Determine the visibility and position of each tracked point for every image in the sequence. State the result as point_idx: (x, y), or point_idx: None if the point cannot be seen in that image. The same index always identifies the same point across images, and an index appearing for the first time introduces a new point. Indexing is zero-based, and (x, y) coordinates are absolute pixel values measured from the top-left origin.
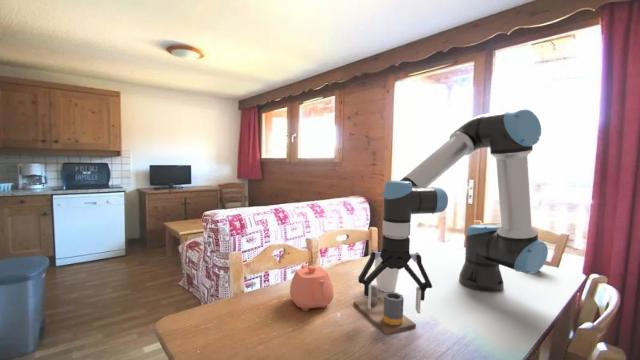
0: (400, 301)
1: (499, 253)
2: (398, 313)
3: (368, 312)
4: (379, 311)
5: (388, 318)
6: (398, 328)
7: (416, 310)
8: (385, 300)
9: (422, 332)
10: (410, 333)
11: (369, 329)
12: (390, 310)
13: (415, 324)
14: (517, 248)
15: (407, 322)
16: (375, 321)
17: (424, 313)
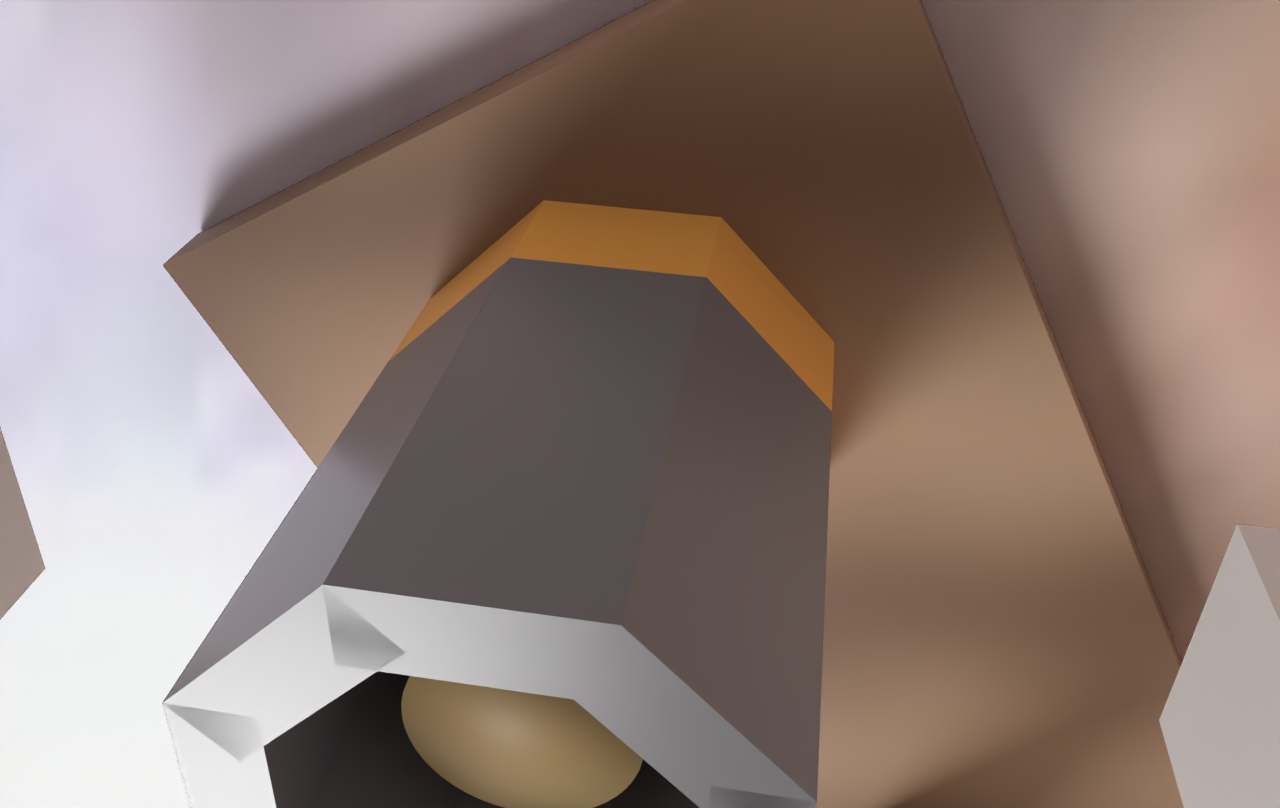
0: (282, 589)
1: None
2: (459, 338)
3: (1097, 633)
4: (845, 662)
5: (740, 309)
6: (543, 69)
7: (12, 477)
8: (796, 693)
9: (72, 75)
10: (307, 12)
11: (1237, 90)
12: (674, 397)
13: (174, 259)
14: None
15: (328, 315)
16: (1041, 317)
17: (64, 644)
